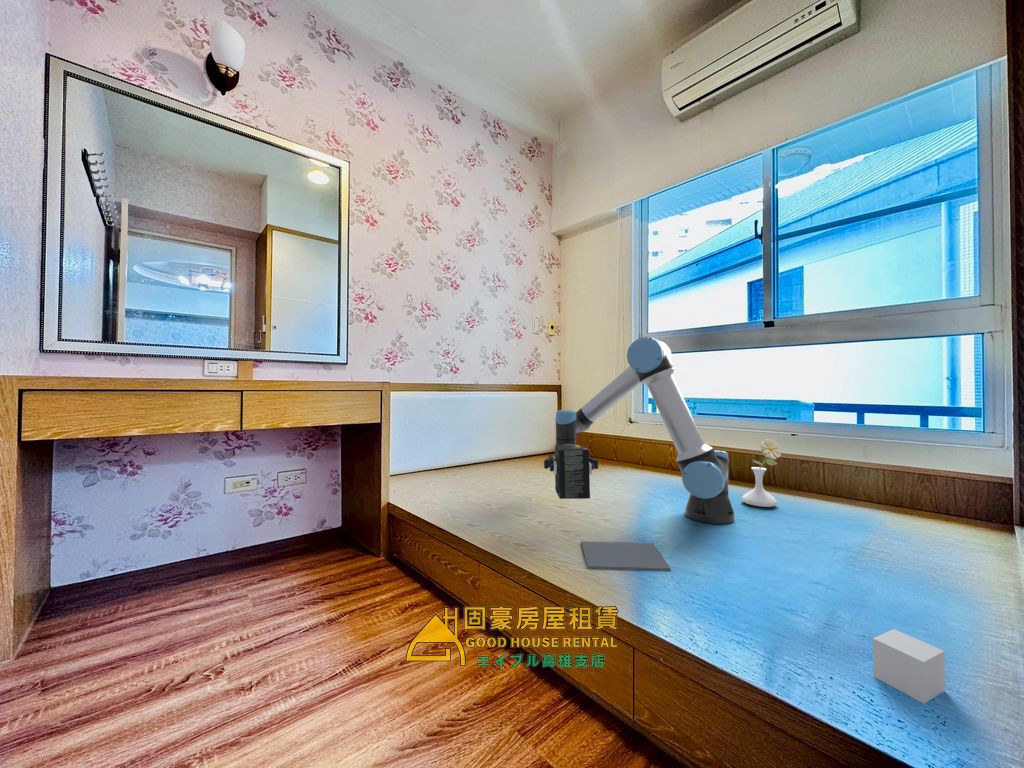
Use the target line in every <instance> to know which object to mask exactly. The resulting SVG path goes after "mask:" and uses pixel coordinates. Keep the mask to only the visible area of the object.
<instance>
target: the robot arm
mask: <svg viewBox="0 0 1024 768" xmlns="http://www.w3.org/2000/svg"><path fill="white" fill-rule="evenodd" d="M626 359H627V362H628V365H629V366H628V367H627V368H626V369H625V370H623V371H622V372H621V373H620V374H619V375H617V377H616V378H614V379H613V380H612V381H611V382H609V384H607V385H606V386H605V387H604V388H603V389H601V390H600V391H599V392H598V393H597V394H596V395H595V396H593V397H592V398H591V399H590V400H589V401H587V402H586V403H585V404H583V406H582V407H581V408H579V409H578V410H577V411H576V410H574V409H559V410H557V411H556V412H555V445H577V434H579V433H583V432H586V431H587V430H589V429H590V428H591V427H592V425H593V424H594V423H595V422H596V421H598V420H599V419H600V418H601V417H602V416H604V414H606V413H607V412H608V411H609V410H610V409H612V408H613V407H615V406H616V405H617V404H618V403H619V402H620V401H622V400H623V399H625V398H626V397H627V396H628V395H629V394H630V393H631V392H633V391H634V390H635V389H637V388H638V387H639V386H640V385H641V384H643V385H646V386H647V388H648V390H649V392H650V394H651V395H650V396H652V399H653V402H654V403H655V406H656V408H657V409H658V412H659V414H660V417H661V418H662V421H663V423H664V426H665V427H666V429H667V432H668V433H669V436H670V438H671V440H672V443H673V444H674V447H675V449H676V452H677V456H676V459H675V461H676V463H677V465H678V467H679V470H680V472H681V482H682V485H683V486H684V489H686V491H687V492H688V493H690V494H689V497H688V500H687V503H686V506H685V507H684V508H685V516H686V517H688V518H689V519H691V520H693V521H696V522H697V521H698V522H701V523H705V524H706V523H707V524H715V525H716V524H717V525H723V524H724V525H725V524H731V523H733V522H735V518H736V517H735V511H734V509H733V505H732V503H731V500H730V497H729V462H730V458H729V454H728V452H727V451H725V450H716V449H715V450H714V447H713V446H710V445H708V444H706V443H705V441H704V439H703V436H702V434H701V433H700V430H699V428H698V426H697V424H696V421H695V420H694V416H693V415H692V414H691V411H690V409H689V407H688V405H687V403H686V401H685V398H684V397H683V394H682V392H681V390H680V389H679V386H678V384H677V382H676V379H675V377H674V373H675V372H674V371H675V366H674V364H673V361H672V352H671V349H670V347H669V346H668V345H667V344H666V343H665V342H664V341H662V340H659V339H657V338H656V337H652V336H642V337H639V338H637V339H635V340H634V341H633V342H632V343H631V344H630V345H629V347H628V349H627V352H626ZM543 468H544V469H546V470H548V469H549V471H550V472H553V474H554V475H555V474H557V464H556V460H555V455H552V454H551V455H548V457H546V459H544V460H543ZM598 469H599V460H598V459H595V458H592V457H591V456H590V455H589V475H592V474H593V473H592V472H593V470H598Z"/></svg>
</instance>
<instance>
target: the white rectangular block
mask: <svg viewBox="0 0 1024 768" xmlns="http://www.w3.org/2000/svg"><path fill="white" fill-rule="evenodd" d="M945 667H946V666H945V650H943V649H941V648H938V647H936V646H933V645H932V644H929V643H927V642H925V641H922V640H920V639H918V638H915V637H913V636H911V635H909V634H907V633H904V632H901V631H899V630H897V629H895V628H893V629H891V630H888V631H886V632H884V633H882V634H879V635H878V636H875V637H873V638H872V676H873V678H876V679H877V680H880V681H881V682H883V683H885V684H887V685H889V686H890V687H892V688H894V689H896V690H897V691H900V692H902V693H904V694H905V695H907V696H909V697H911V698H913V699H914V700H917V701H918V702H920V703H922V704H926V703H928V702H929V701H931V700H932V699H935V697H937V696H939V695H940V694H942V693H944V692H946V691H945V688H946V687H945V685H946V682H945V681H946V680H945V677H946V676H945V670H946V669H945Z"/></svg>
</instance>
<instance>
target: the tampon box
mask: <svg viewBox="0 0 1024 768" xmlns="http://www.w3.org/2000/svg"><path fill="white" fill-rule="evenodd" d="M589 456H590V451H589V449H588V448H587V447H586V446H584V445H583V444H576V445H556V444H555V445H554V458H555V460H556V464H557V474H554V476H555V477H554V478H555V479H554V480H555V481H554V483H555V486H554V488H555V493H556V495H557V496H558V498H559V500H565V499H567V500H568V499H569V500H571V499H575V500H578V499H579V500H583V499H585V500H586V499H588V500H589V499H591V490H590V489H591V488H590V487H591V485H590V484H591V483H590V479H591V478H590V474H589Z"/></svg>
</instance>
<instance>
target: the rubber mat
mask: <svg viewBox="0 0 1024 768" xmlns="http://www.w3.org/2000/svg"><path fill="white" fill-rule="evenodd" d="M581 547H582V551H583V554H584V558H585V562H587V563H586V566H588V567H587V569H588V568H597V569H596V570H623V569H643V570H642V571H661V570H662V571H663V570H666V572H667V571H670V572H671V571H672V570H671V569H672V567H670V565H669V564H668V562H667V561H666V560H665V558H664V557H663V556H662V554H661V553H660V551H659V550H658V548H657V546H656V545H655V544H654V543H653V542H628V541H627V542H625V541H624V542H623V541H622V542H621V541H583V540H582V541H581ZM598 568H599V569H598Z"/></svg>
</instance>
